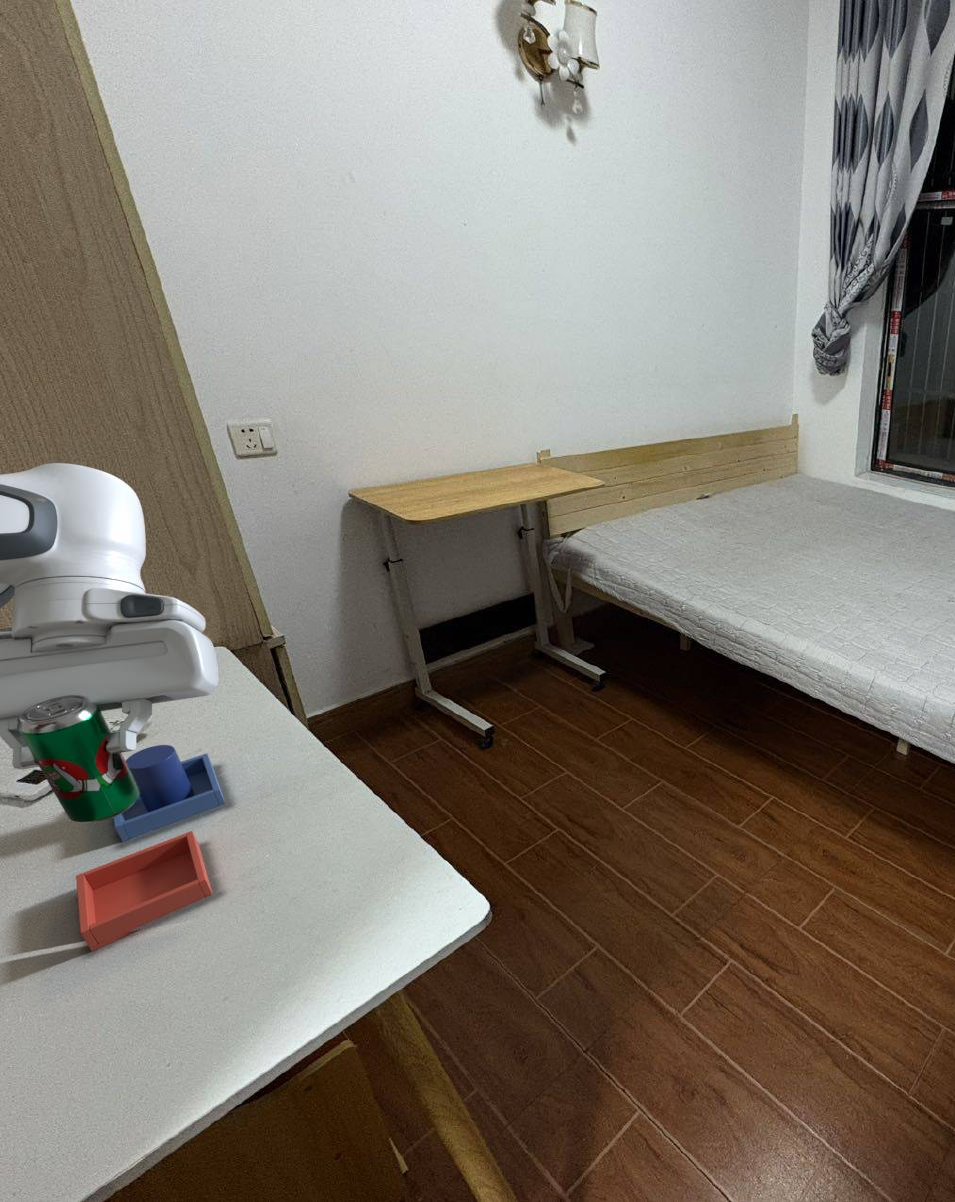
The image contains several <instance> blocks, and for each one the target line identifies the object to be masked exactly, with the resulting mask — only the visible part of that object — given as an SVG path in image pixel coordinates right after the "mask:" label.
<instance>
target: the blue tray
mask: <svg viewBox="0 0 955 1202" xmlns="http://www.w3.org/2000/svg"><path fill="white" fill-rule="evenodd" d="M180 762H181V764H182V766H183V769H184V771H185V773H186V775H187V778H188V780H189V782H190V784H191V787H192V789H193V791H194V796H193V797H191V798H188V799H185V800H182V801H179V802H177V803H174V804H171V805H168V806H166V807H163V808H160V809H157V810H154V811H152V812H148V811H147V810H146V808H145V806H144V804H143V802H142V800H141V798H140V796H139V797H138V799H137V800H136V802H135V803H134V804H133V805H132V806H131V807H130V808H129V809H127V810H126V811H124V812H123V813H121V814H119V815H117V816H115V817H112V819H113V824H114V829H115V831H116V833H117V835H118V836H119V838H120V840H121V842H122V843H124V842H127V841H129V840H132V839H135V838H138V837H140V836H143V835H147V834H148V833H151V832H154V831H156V830H159V829H162V828H164V827H168V826H169V825H172V824H174V823H177V822H180V821H183V820H186V819H189V818H190V817H193V816H196V815H198V814H202V813H204V812H207V811H210V810H212V809H215V808H218V807H221V806H223V805H225V804H226V800H225V798H224V795H223V792H222V789H221V786H220V784H219V780H218V776H217V773H216V772H215V769H214V765H213V764H212V761H211V759H210V756H209V754H208V752H207V753H204V754H200V755H197V756H195V757H191V758H189V759H188V758H187V759H185V760H182V761H180Z"/></svg>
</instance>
